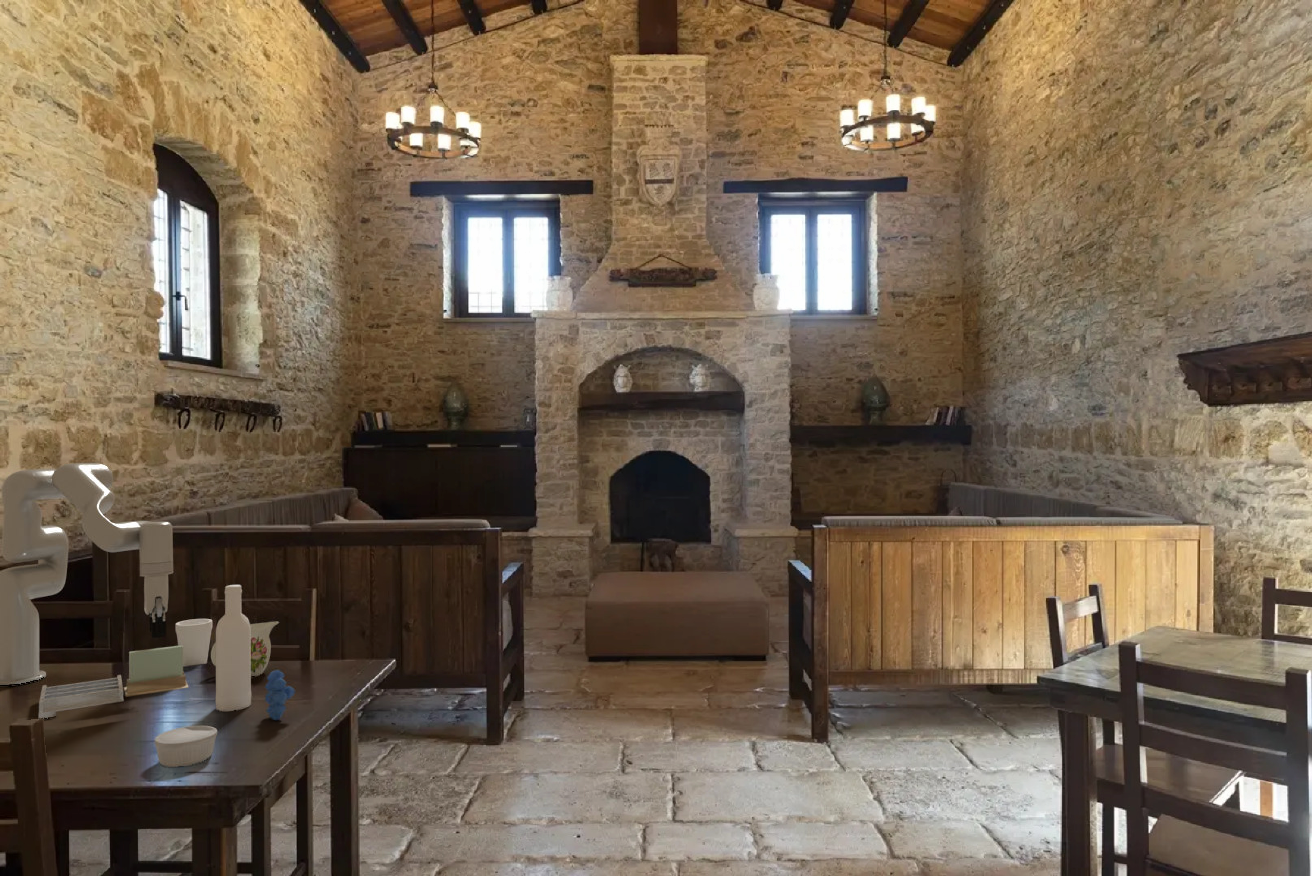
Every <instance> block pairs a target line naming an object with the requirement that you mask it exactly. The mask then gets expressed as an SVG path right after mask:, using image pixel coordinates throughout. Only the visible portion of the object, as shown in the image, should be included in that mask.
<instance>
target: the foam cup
mask: <svg viewBox="0 0 1312 876" xmlns="http://www.w3.org/2000/svg"><path fill="white" fill-rule="evenodd" d="M212 629H213V620H212V619H209V618H195V619H194V618H193V619H187V620H182V621H178V622H176V623H175V633H176V638H177V646H180V645H182V646H183V668H184V667H189V666H197V665H204V664H205V665H206V664H207V663H208V657H209V651H210V641H211V636H212V635H211V634H212Z"/></svg>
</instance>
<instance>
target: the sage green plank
mask: <svg viewBox="0 0 1312 876" xmlns="http://www.w3.org/2000/svg"><path fill="white" fill-rule="evenodd" d="M128 654H129V656H128V659H129V660H128V668H129V671H128V672H129V673H128V679H129V683H133V682H140V681H147V680H154V679H161V678H168V677H175V676H182V675H183V672H184V667H183V646H182V645H180V646H178V645H174V646H166V647H156V648H149V649H141V650H134V651H133V650H132V651H129V652H128Z"/></svg>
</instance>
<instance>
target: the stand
mask: <svg viewBox="0 0 1312 876" xmlns="http://www.w3.org/2000/svg"><path fill="white" fill-rule="evenodd" d="M186 678H187V677H186V674H185V671H183V675H182V676H175V677H168V678H161V679H154V680H147V681H140V682H133V683H129V678H128V679H126V686H125V687H123V691H124V696H125V697H126V698H127V697H133V696H142V695H146V694H147V695H148V694H153V693H160V692H168V691H174V690H181V689H187V688H189V684H188V682H187V679H186Z"/></svg>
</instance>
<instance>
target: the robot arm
mask: <svg viewBox="0 0 1312 876" xmlns="http://www.w3.org/2000/svg"><path fill="white" fill-rule="evenodd" d="M113 475H114V474H113V472H112V470H111V469H110V468H109V467H108V466H106V465H105V464H102V463H98V462H83V463H82V462H79V463H75V462H74V463H68V464H67V463H65V464H63V465H61V466H59V467H57V468H34V469H32V468H31V469H23V470H18V471H15V472H12V473H11V474H9V475H8V476H7V477H6V478H5V480H4V481H3V484H2V487H1V500H2V504H3V511H4V513H3V521H2V522H3V524H2V535H1V554H2V557H3V559H4V560H5V561H7V562H9V563H24V562H34V561H38V563H35V564H27V565H19V566H12V567H8V568H5V569H3V570H0V685H9V684H20V685H22V684H21V683H25V684H27V683H26V682H30V681H33V680H38V681H40V680H42V679H41V678H43V677H44V678H46V676H47V672H46V671H44V670H40V614H39V612H38V609H37V607H36V606H35V605H34V603H33V602H32V601H31V600H33V599H39V598H43V597H48V596H53V595H57V594H58V593H60V592H61V591H62V590H63V588H64V587H65V584H66V579H67V571H68V570H67V569H68V560H69V550H70V549H69V538H68V535H67V533H66V532H65V530H64V529H63V528H61V527H60V526H57V525H42V523H43V522H42V520H43V512H42V509H41V507H40V505H39V504H38V502H37V500H38V501H39V500H55V499H58V500H59V499H60V500H61V499H67V500H68V501H69V502H70V503H71V504H72V505H74V506H75V508H77V510H79V511H80V512H81V513H82V514H81V525H82V526H81V527H82V530H83V533H84V534H85V535H86V537H87V538H88V539H89V540H90V541H91V542H93V543H94V545H96V546H97V547H98V548H100V549H101V550H102V551H105V552H109V553H117V552H118V553H119V552H124V551H133V550H139V577H144V579H143V580H144V581H143V582H144V584H143V586H144V587H143V598H144V599H143V601H144V602H143V608H144V609H143V610H144V612H145V614H146V615H147V616H148V615H149V617H148V618H149V619H148V620H149V621H148V624H149V632H151V638H152V639H158V638H166V637H167V620H166V612H168V604H169V575H171V574H174V547H173V545H174V544H173V543H174V542H173V541H174V540H173V534H174V533H173V525H172V523H171V522H169V521H149V520H136V521H135V520H134V521H122V522H111V521H110V520H109V519H108V518H107V517H106V516H105V514H106V513H107V512H108V511H110V510H111V508H112V507H113V505H114V504H115V500H116V497H115V493H114V492H113V491H111V490H110V488H111V487H112V485H113V483H114V476H113ZM44 678H43V679H44ZM39 679H40V680H39ZM30 683H31V682H30Z"/></svg>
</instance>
